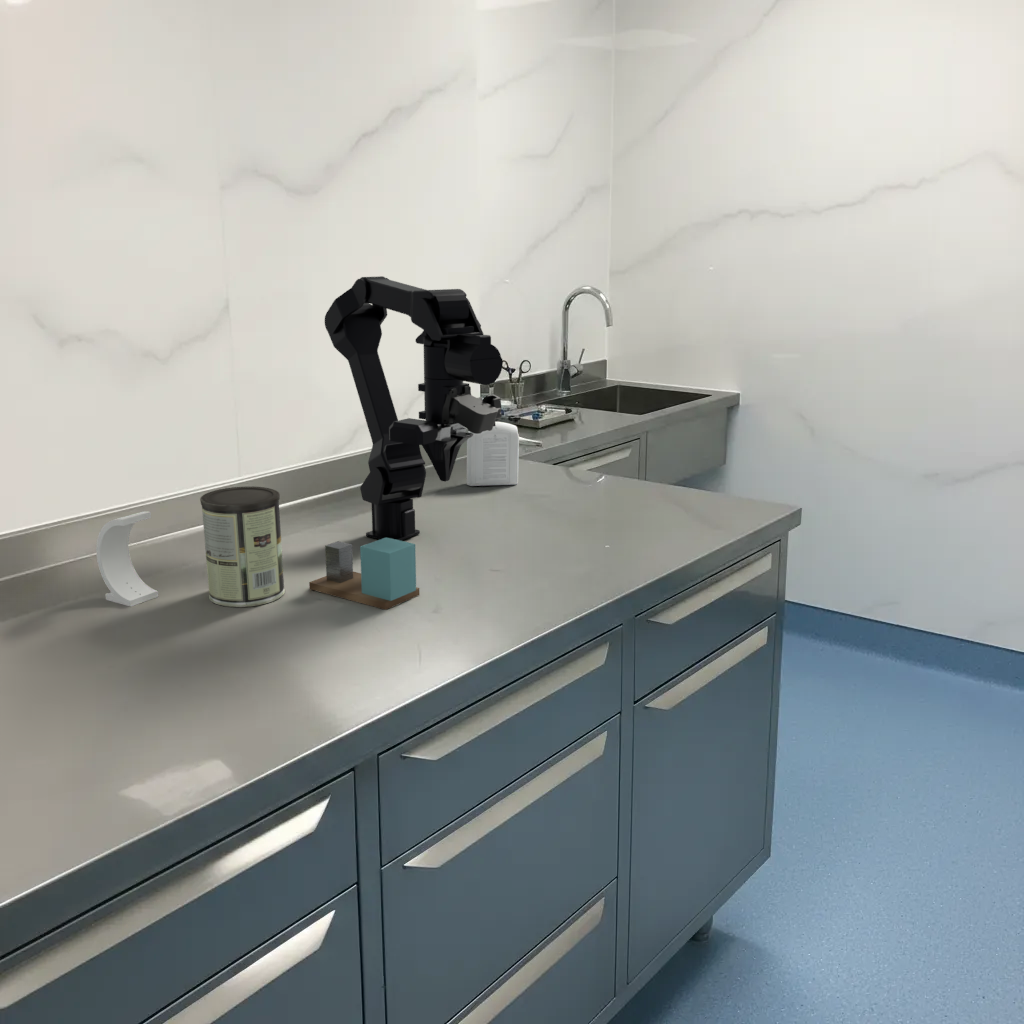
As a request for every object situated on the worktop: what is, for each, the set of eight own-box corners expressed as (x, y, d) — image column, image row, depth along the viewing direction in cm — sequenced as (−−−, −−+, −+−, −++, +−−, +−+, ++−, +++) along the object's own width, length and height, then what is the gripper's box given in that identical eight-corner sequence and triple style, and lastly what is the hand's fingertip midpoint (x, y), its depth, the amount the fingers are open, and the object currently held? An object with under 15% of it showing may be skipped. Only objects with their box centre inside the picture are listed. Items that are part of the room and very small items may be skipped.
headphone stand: (130, 606, 139) (122, 519, 136) (100, 598, 142) (91, 513, 139) (158, 596, 143) (150, 511, 139) (128, 588, 146) (120, 505, 142)
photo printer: (516, 480, 208) (516, 419, 205) (520, 485, 204) (521, 423, 201) (465, 482, 206) (464, 420, 203) (468, 488, 202) (468, 424, 199)
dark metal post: (326, 579, 147) (325, 545, 145) (339, 574, 149) (338, 541, 147) (340, 583, 145) (338, 548, 144) (353, 578, 147) (351, 544, 146)
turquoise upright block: (361, 593, 141) (360, 546, 140) (387, 582, 146) (386, 537, 144) (390, 600, 139) (389, 553, 137) (416, 590, 143) (415, 543, 141)
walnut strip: (309, 589, 146) (309, 582, 146) (344, 575, 151) (344, 569, 151) (385, 609, 138) (385, 602, 138) (419, 594, 144) (419, 588, 143)
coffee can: (235, 578, 150) (229, 483, 146) (298, 587, 147) (293, 489, 143) (192, 602, 141) (183, 501, 137) (258, 611, 137) (252, 508, 134)
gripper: (448, 389, 141) (449, 501, 145) (524, 374, 156) (524, 476, 160) (385, 382, 147) (388, 490, 151) (465, 368, 162) (465, 466, 166)
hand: (444, 480), depth 157 cm, fingers closed
